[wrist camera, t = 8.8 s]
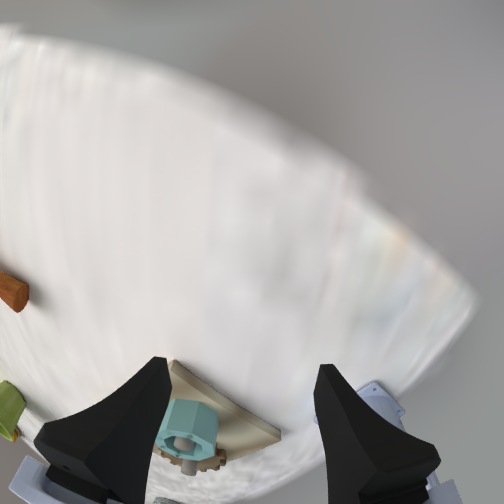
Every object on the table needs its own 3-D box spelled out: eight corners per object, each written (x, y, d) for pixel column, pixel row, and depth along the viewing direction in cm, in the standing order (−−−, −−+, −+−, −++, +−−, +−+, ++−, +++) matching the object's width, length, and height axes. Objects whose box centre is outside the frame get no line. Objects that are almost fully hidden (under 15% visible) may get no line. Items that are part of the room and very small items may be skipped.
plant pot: (-4, 381, 29) (-26, 406, 21) (-1, 365, 27) (-27, 393, 19) (29, 415, 31) (10, 443, 23) (37, 404, 29) (14, 437, 21)
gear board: (280, 430, 26) (282, 469, 21) (194, 464, 30) (188, 493, 25) (173, 359, 23) (157, 402, 18) (105, 410, 27) (89, 440, 22)
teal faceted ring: (229, 420, 24) (225, 451, 20) (195, 436, 25) (189, 463, 21) (185, 392, 23) (176, 424, 19) (154, 410, 24) (144, 439, 20)
